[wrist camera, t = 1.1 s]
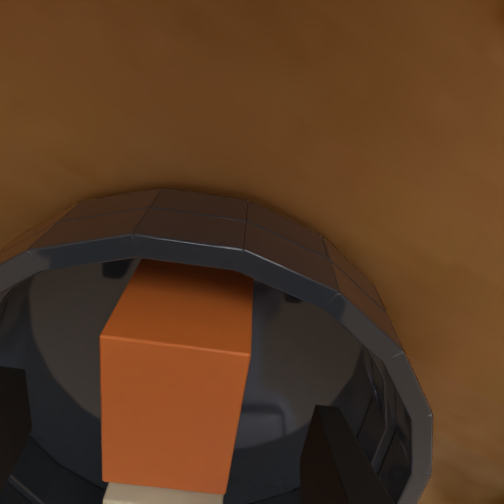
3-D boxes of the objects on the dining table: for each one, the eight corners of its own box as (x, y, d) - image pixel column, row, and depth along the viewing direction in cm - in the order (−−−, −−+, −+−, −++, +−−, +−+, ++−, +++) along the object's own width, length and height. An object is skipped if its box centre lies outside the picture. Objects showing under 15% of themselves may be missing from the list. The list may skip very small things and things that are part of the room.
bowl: (339, 524, 20) (356, 625, 16) (4, 487, 19) (-52, 585, 16) (457, 222, 13) (527, 287, 10) (-56, 148, 12) (-177, 190, 9)
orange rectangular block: (234, 389, 15) (225, 496, 12) (138, 377, 15) (101, 482, 12) (254, 268, 13) (251, 354, 10) (143, 253, 13) (98, 335, 9)
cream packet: (216, 492, 18) (205, 605, 14) (135, 483, 18) (103, 595, 14) (231, 405, 16) (222, 514, 12) (138, 394, 16) (101, 501, 12)
